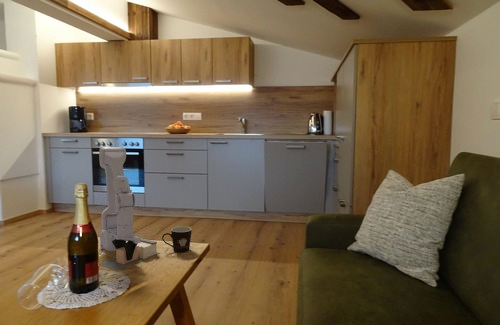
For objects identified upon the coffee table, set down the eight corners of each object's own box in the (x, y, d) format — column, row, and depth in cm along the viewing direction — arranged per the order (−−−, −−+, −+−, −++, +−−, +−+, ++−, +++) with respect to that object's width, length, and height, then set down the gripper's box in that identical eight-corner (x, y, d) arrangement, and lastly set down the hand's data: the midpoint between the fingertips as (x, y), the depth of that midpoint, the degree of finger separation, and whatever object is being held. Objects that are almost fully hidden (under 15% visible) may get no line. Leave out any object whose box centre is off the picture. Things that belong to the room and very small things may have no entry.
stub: (116, 262, 134) (116, 249, 134) (130, 256, 140) (130, 244, 140) (123, 264, 132) (123, 251, 132) (138, 258, 138) (137, 246, 138)
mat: (97, 267, 132) (96, 264, 132) (141, 250, 151) (141, 248, 151) (117, 273, 126) (116, 270, 126) (160, 255, 145) (160, 253, 145)
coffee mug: (193, 249, 153) (194, 227, 153) (188, 256, 145) (188, 232, 144) (168, 248, 155) (168, 225, 154) (161, 254, 146) (161, 231, 145)
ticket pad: (128, 254, 142) (128, 242, 142) (141, 250, 149) (141, 237, 148) (144, 259, 138) (144, 246, 138) (157, 254, 144) (157, 241, 144)
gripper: (103, 223, 134) (103, 258, 135) (130, 229, 127) (130, 265, 128) (118, 219, 140) (118, 252, 142) (144, 224, 133) (144, 259, 134)
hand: (125, 258), depth 135 cm, fingers closed on stub, 4 cm apart
